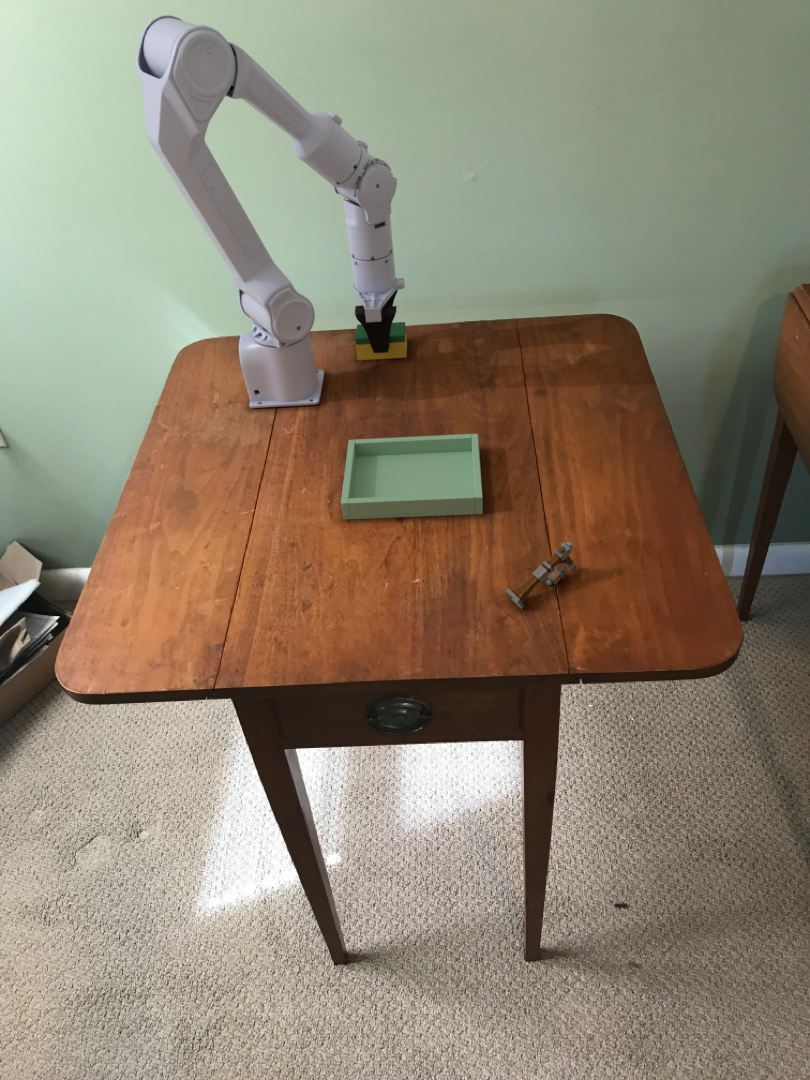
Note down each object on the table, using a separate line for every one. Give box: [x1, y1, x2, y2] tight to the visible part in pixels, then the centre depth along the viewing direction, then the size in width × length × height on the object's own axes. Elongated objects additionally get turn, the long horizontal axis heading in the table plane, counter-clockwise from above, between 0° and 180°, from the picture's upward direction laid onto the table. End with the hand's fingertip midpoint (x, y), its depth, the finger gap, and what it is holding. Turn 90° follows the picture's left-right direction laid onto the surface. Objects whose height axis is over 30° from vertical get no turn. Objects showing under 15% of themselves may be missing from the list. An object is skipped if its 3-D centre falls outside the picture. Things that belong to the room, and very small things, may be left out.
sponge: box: [354, 321, 408, 361], centre depth 111 cm, size 7×4×4 cm, turn 89°
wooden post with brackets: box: [505, 541, 577, 610], centre depth 76 cm, size 2×8×4 cm, turn 123°
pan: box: [340, 433, 484, 521], centre depth 89 cm, size 16×12×2 cm
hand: (381, 343), depth 111 cm, fingers closed on sponge, 4 cm apart
